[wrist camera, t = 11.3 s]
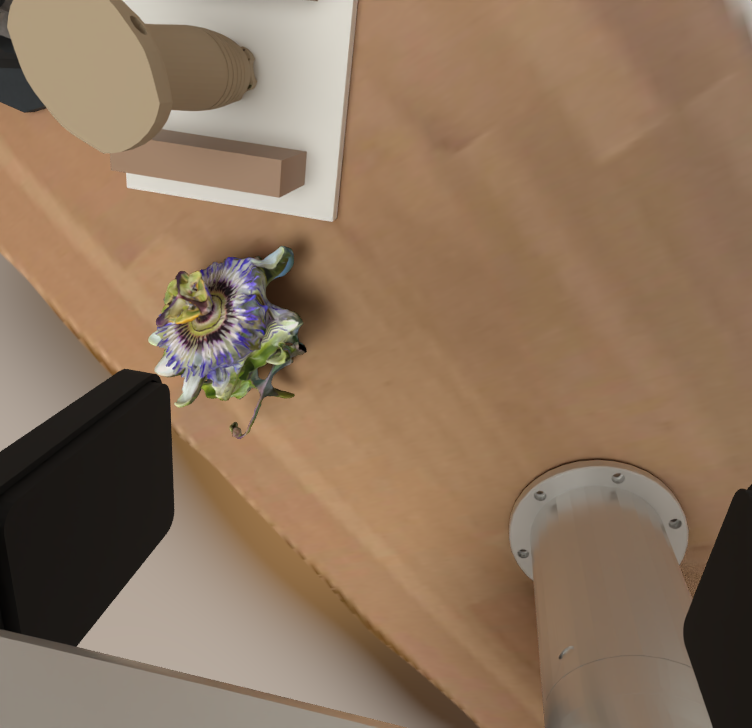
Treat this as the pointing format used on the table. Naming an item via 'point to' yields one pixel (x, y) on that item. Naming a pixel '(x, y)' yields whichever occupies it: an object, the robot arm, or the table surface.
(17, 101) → the gun turret
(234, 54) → the handle
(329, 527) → the table surface
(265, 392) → the passion flower
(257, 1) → the white base with blocks
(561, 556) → the robot arm
